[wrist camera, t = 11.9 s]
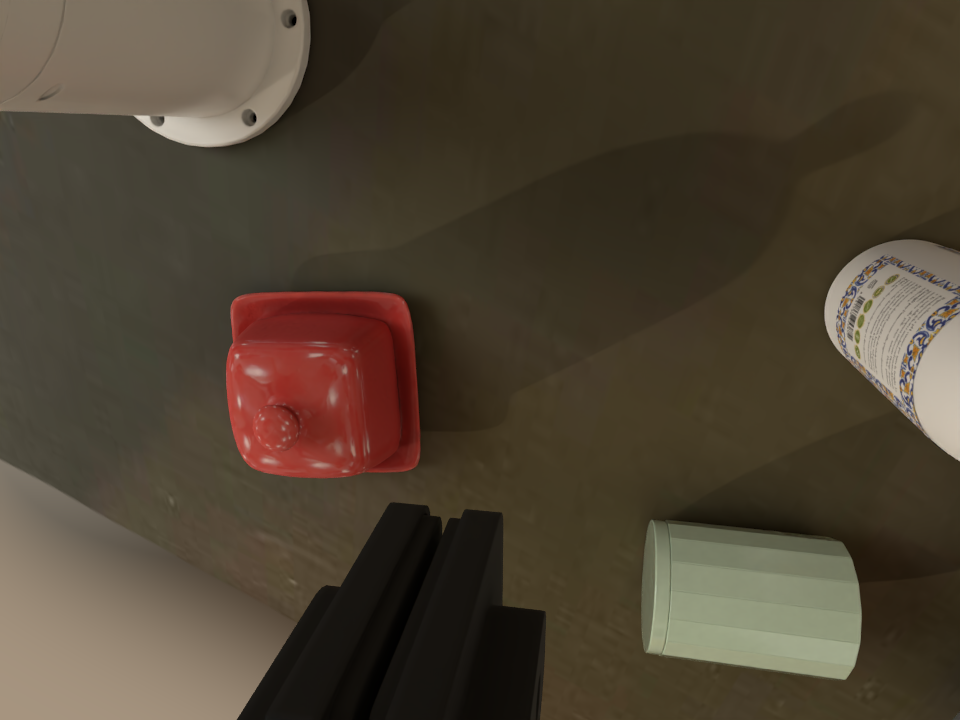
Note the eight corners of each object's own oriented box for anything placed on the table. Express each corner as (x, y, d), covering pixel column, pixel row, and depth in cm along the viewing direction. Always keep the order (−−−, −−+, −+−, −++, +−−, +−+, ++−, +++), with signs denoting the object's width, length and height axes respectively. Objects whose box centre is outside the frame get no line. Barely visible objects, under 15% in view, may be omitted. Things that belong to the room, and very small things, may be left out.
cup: (645, 683, 36) (843, 712, 35) (658, 568, 34) (872, 594, 32) (639, 596, 43) (805, 617, 42) (650, 495, 41) (826, 513, 39)
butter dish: (235, 286, 41) (146, 323, 33) (417, 286, 39) (368, 325, 31) (261, 456, 45) (186, 526, 37) (429, 464, 43) (389, 540, 35)
